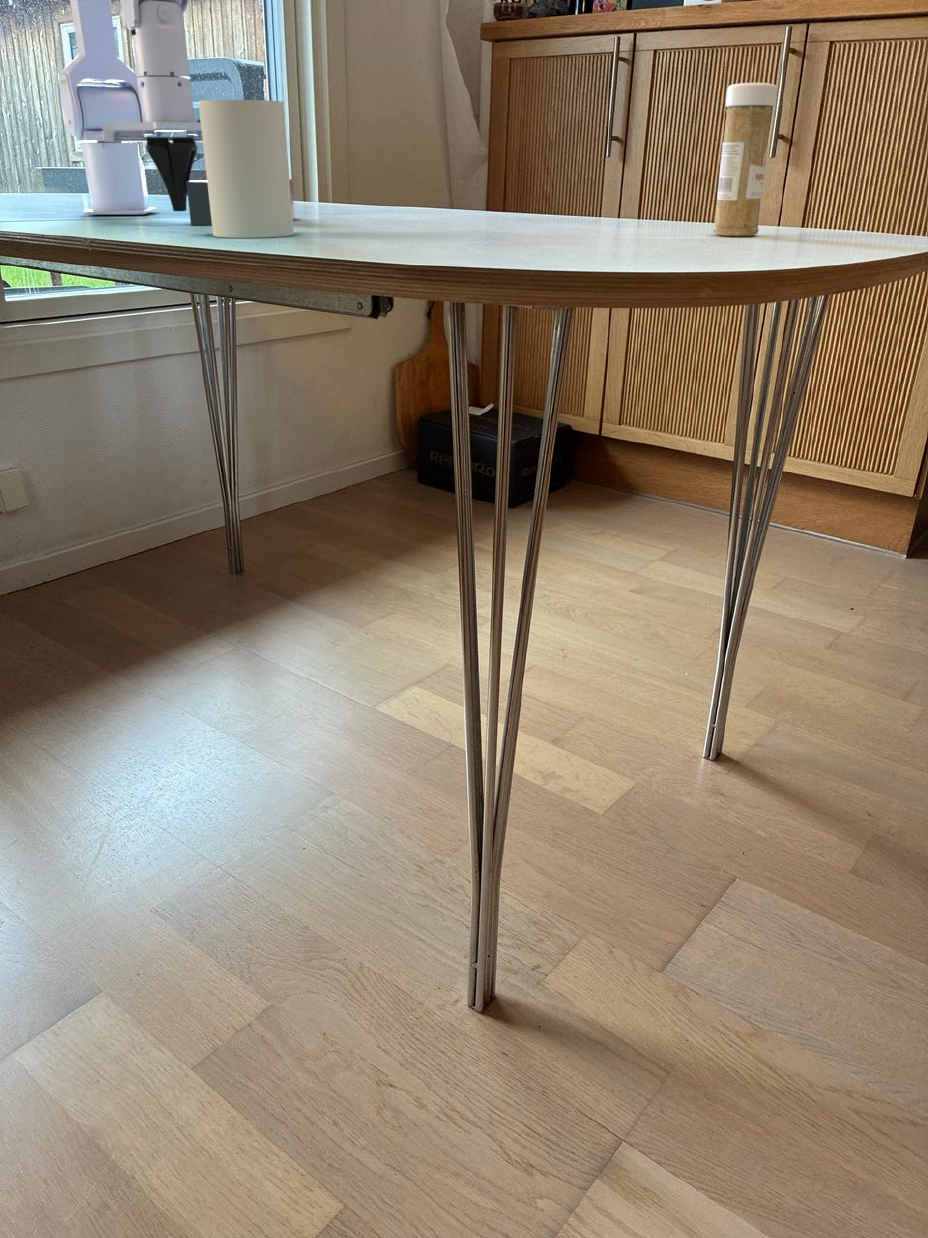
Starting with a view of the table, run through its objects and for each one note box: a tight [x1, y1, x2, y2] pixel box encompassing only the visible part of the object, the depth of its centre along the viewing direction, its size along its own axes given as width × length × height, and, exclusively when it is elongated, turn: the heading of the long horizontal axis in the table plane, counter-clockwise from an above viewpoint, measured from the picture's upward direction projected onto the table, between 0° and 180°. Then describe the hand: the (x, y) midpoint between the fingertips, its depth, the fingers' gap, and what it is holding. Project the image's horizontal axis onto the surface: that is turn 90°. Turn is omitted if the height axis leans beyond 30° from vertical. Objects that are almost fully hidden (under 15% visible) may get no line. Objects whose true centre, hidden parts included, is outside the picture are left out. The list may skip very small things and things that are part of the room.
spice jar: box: [712, 82, 777, 237], centre depth 93 cm, size 5×5×13 cm
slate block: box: [186, 180, 212, 226], centre depth 111 cm, size 5×5×5 cm
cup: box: [198, 99, 294, 239], centre depth 94 cm, size 8×8×12 cm
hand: (180, 210), depth 111 cm, fingers closed
